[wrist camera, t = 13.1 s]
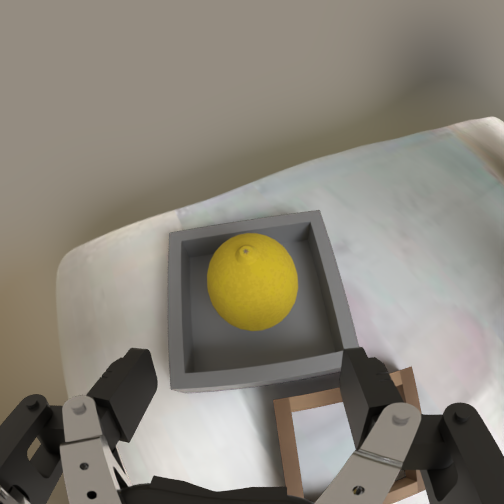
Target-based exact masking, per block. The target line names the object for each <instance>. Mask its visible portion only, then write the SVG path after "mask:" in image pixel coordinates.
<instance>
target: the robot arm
mask: <svg viewBox="0 0 504 504" xmlns="http://www.w3.org/2000/svg"><path fill="white" fill-rule="evenodd" d="M156 390H157V376H156V373H155V369H154V365H153V361H152V358H151V354H150V351H149V350H148V349H138V348H131V349H130V350H129V351H128V352H127V353H126V355H125V356H124V357H123V358H119V359H118V360H116V361H115V362H113V363H112V364H111V365H110V366H109V367H108V369H107V370H106V372H104V374H103V375H102V378H101V377H100V379H99V380H98V381H97V382H96V384H95V385H94V386H93V387H92V389H91V390H90V391H89V392H88V394H87V395H86V396H83V395H80V396H75V397H72V398H70V399H69V400H67V401H66V402H65V404H64V405H63V406H50V405H49V404H48V402H47V400H46V398H45V397H44V396H42V395H39V394H34V395H30V396H27V397H26V398H24V399H23V400H22V401H21V402H20V403H19V405H18V406H17V407H16V408H15V409H14V410H13V411H12V413H11V414H10V415H9V416H8V417H7V418H6V420H5V421H4V422H3V423H2V424H1V426H0V504H46V503H47V501H48V499H49V497H50V495H51V493H52V491H53V489H54V487H55V486H56V484H57V482H58V480H59V478H60V476H61V474H62V473H63V474H64V480H65V485H66V490H67V495H68V499H69V503H70V504H382V503H383V501H384V500H385V498H386V496H387V494H388V493H389V491H390V489H391V487H392V485H393V483H394V481H395V480H396V478H397V476H398V474H399V472H400V470H420V472H421V476H422V479H423V482H424V485H425V489H426V492H427V495H428V499H429V502H430V504H504V456H503V454H502V453H501V451H500V449H499V447H498V445H497V444H496V442H495V440H494V438H493V437H492V435H491V433H490V432H489V430H488V428H487V427H486V425H485V423H484V422H483V420H482V418H481V417H480V415H479V414H478V412H477V411H476V409H475V408H474V407H472V406H471V405H469V404H466V403H454V404H451V405H449V406H448V407H447V408H446V409H445V411H444V413H443V415H423V414H421V413H420V411H419V410H418V409H417V408H416V407H414V406H413V405H411V404H408V403H404V401H403V399H402V397H401V395H400V393H399V391H398V389H397V387H396V386H395V384H394V382H393V380H392V378H391V376H390V374H389V373H388V371H387V369H386V367H385V365H384V364H383V363H382V362H381V361H379V360H378V359H377V358H375V357H374V358H368V357H367V355H366V353H365V351H364V349H363V347H357V348H347V349H344V350H343V356H342V364H341V372H340V393H341V397H342V400H343V404H344V407H345V411H346V414H347V418H348V422H349V425H350V429H351V433H352V437H353V440H354V444H355V448H356V450H355V451H354V452H353V454H352V455H351V456H350V458H349V459H348V461H347V462H346V463H345V465H344V466H343V468H342V469H341V470H340V472H339V473H338V474H337V476H336V477H335V478H334V480H333V481H332V482H331V484H330V485H329V486H328V487H327V489H326V490H325V491H324V492H323V494H322V495H321V496H320V497H319V498H318V500H317V501H316V502H315V503H314V502H312V501H310V500H307V499H304V498H301V497H297V496H292V495H287V487H249V488H243V489H236V490H229V491H220V492H216V491H211V490H208V489H205V488H202V487H199V486H196V485H193V484H190V483H188V482H185V481H180V480H174V479H168V478H163V477H158V476H153V478H152V481H151V483H147V484H138V485H132V483H131V481H130V478H129V476H128V473H127V471H126V468H125V466H124V463H123V460H122V458H121V455H120V452H119V449H118V447H117V445H116V444H117V443H118V441H119V440H120V441H124V442H128V443H129V442H130V440H131V439H132V437H133V435H134V433H135V431H136V429H137V427H138V425H139V423H140V421H141V419H142V417H143V415H144V413H145V411H146V409H147V407H148V406H149V404H150V402H151V400H152V398H153V396H154V394H155V392H156ZM36 437H37V438H38V440H39V441H40V443H41V445H40V447H39V448H38V450H37V451H36V452H35V454H34V456H33V457H32V458H31V460H30V461H29V460H28V458H27V450H28V448H29V447H30V445H31V444H32V442H33V441H34V440H35V438H36Z"/></svg>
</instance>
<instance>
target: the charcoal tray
mask: <svg viewBox="0 0 504 504" xmlns="http://www.w3.org/2000/svg"><path fill="white" fill-rule="evenodd" d="M245 233H258V234H262V235H266V236H268V237H270V238H272V239H275V240H276V241H277V242H279V243H280V244H281V245H282V246H283V247H284V248H285V249H286V250H287V252H288V253H289V255H290V256H291V258H292V260H293V262H294V265H295V268H296V271H297V276H298V292H297V296H296V301H295V303H294V305H293V307H292V309H291V311H290V312H289V314H288V315H287V316H286V317H285V318H284V319H283V320H282V321H281V322H279V323H278V324H276V325H275V326H273V327H271V328H268V329H265V330H261V331H248V330H242V329H239V328H237V327H235V326H233V325H231V324H229V323H228V322H227V321H225V320H224V319H223V318H222V317H221V316H220V315H219V314H218V312H217V311H216V309H215V308H214V306H213V305H212V302H211V299H210V296H209V293H208V289H207V272H208V268H209V263H210V261H211V259H212V257H213V255H214V253H215V251H216V250H217V249H218V248H219V247H220V246H221V245H222V244H223V243H224V242H226V241H227V240H229V239H230V238H232V237H235V236H237V235H240V234H245ZM168 345H169V368H170V386H171V390H175V391H179V392H183V393H196V392H211V391H223V390H233V389H242V388H251V387H258V386H266V385H273V384H279V383H285V382H291V381H297V380H303V379H308V378H313V377H318V376H323V375H328V374H332V373H337V372H341V364H342V356H343V350H344V349H347V348H357V347H359V345H358V341H357V336H356V332H355V328H354V324H353V320H352V316H351V313H350V309H349V305H348V301H347V298H346V294H345V290H344V287H343V283H342V280H341V276H340V273H339V270H338V266H337V263H336V259H335V256H334V253H333V250H332V246H331V243H330V240H329V237H328V234H327V231H326V228H325V225H324V222H323V219H322V216H321V213H320V210H316V211H308V212H301V213H293V214H286V215H279V216H272V217H265V218H258V219H251V220H245V221H238V222H232V223H225V224H219V225H213V226H206V227H200V228H194V229H188V230H182V231H177V232H171V233H169V256H168Z"/></svg>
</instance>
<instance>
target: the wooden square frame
mask: <svg viewBox="0 0 504 504" xmlns="http://www.w3.org/2000/svg"><path fill="white" fill-rule="evenodd" d="M390 376H391V378H392V380H393V382H394V384H395V386H396V387H397V389H398V391H399V393H400V395H401V397H402V399H403V401H404V403H408V404H411V405H413V406H414V407H416V408H417V409H418V410H419V411H420V413H421V408H420V403H419V398H418V393H417V388H416V383H415V379H414V374H413V370H412V367H409V368H406V369H403V370H400V371H396V372H393V373H390ZM339 402H343V400H342V397H341V393H340V387H338V388H334V389H329V390H325V391H320V392H315V393H310V394H305V395H300V396H294V397H288V398H282V399H275V400H273V403H274V410H275V417H276V424H277V430H278V437H279V444H280V451H281V458H282V464H283V471H284V478H285V485H286V487H287V495H292V496H297V497H301V498H304V495H303V488H302V481H301V474H300V467H299V460H298V453H297V447H296V440H295V433H294V427H293V420H292V414H291V412H295V411H301V410H306V409H311V408H316V407H321V406H326V405H330V404H335V403H339ZM405 474H406V477H405V478H403V479H400V480H397V481H395V482H394V483H393V485H392V487H391V489H390V491H389V493H388V494H387V496H386V498H385V500H384V501H383V503H382V504H392V503H395V502H397V501H400V500H402V499H405V498H407V497H410V496H412V495H414V494H417V493H419V492H421V491H423V490H425V485H424V482H423V479H422V476H421V472H420V470H405Z"/></svg>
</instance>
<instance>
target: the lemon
mask: <svg viewBox="0 0 504 504" xmlns="http://www.w3.org/2000/svg"><path fill="white" fill-rule="evenodd" d="M207 289H208V293H209V296H210V299H211V302H212V305H213V306H214V308H215V309H216V311H217V312H218V314H219V315H220V316H221V317H222V318H223V319H224V320H225V321H227V322H228V323H229V324H231V325H233V326H235V327H237V328H239V329H242V330H248V331H261V330H265V329H268V328H271V327H273V326H275V325H276V324H278V323H279V322H281V321H282V320H283V319H284V318H285V317H286V316H287V315H288V314H289V312H290V311H291V309H292V307H293V305H294V303H295V301H296V296H297V292H298V276H297V271H296V268H295V265H294V262H293V260H292V258H291V256H290V255H289V253H288V252H287V250H286V249H285V248H284V247H283V246H282V245H281V244H280V243H279V242H277V241H276V240H275V239H272V238H270V237H268V236H266V235H262V234H258V233H245V234H240V235H237V236H235V237H232V238H230V239H229V240H227V241H226V242H224V243H223V244H222V245H221V246H220V247H219V248H218V249H217V250H216V251H215V253H214V255H213V257H212V259H211V261H210V263H209V268H208V272H207Z"/></svg>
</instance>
